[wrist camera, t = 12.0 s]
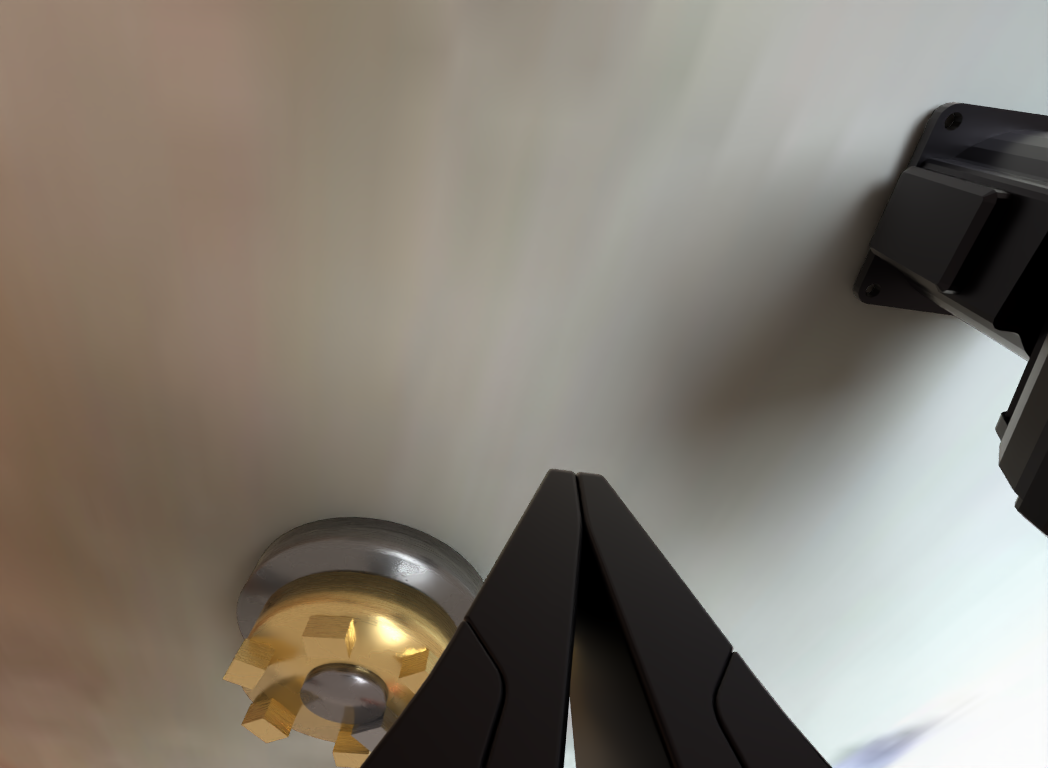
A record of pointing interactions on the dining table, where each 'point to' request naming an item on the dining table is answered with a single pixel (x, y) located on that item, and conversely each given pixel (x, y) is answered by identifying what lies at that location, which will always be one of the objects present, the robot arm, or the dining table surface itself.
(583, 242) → the dining table surface
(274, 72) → the dining table surface
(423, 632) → the copper and gold mechanism
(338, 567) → the grey round base plate
